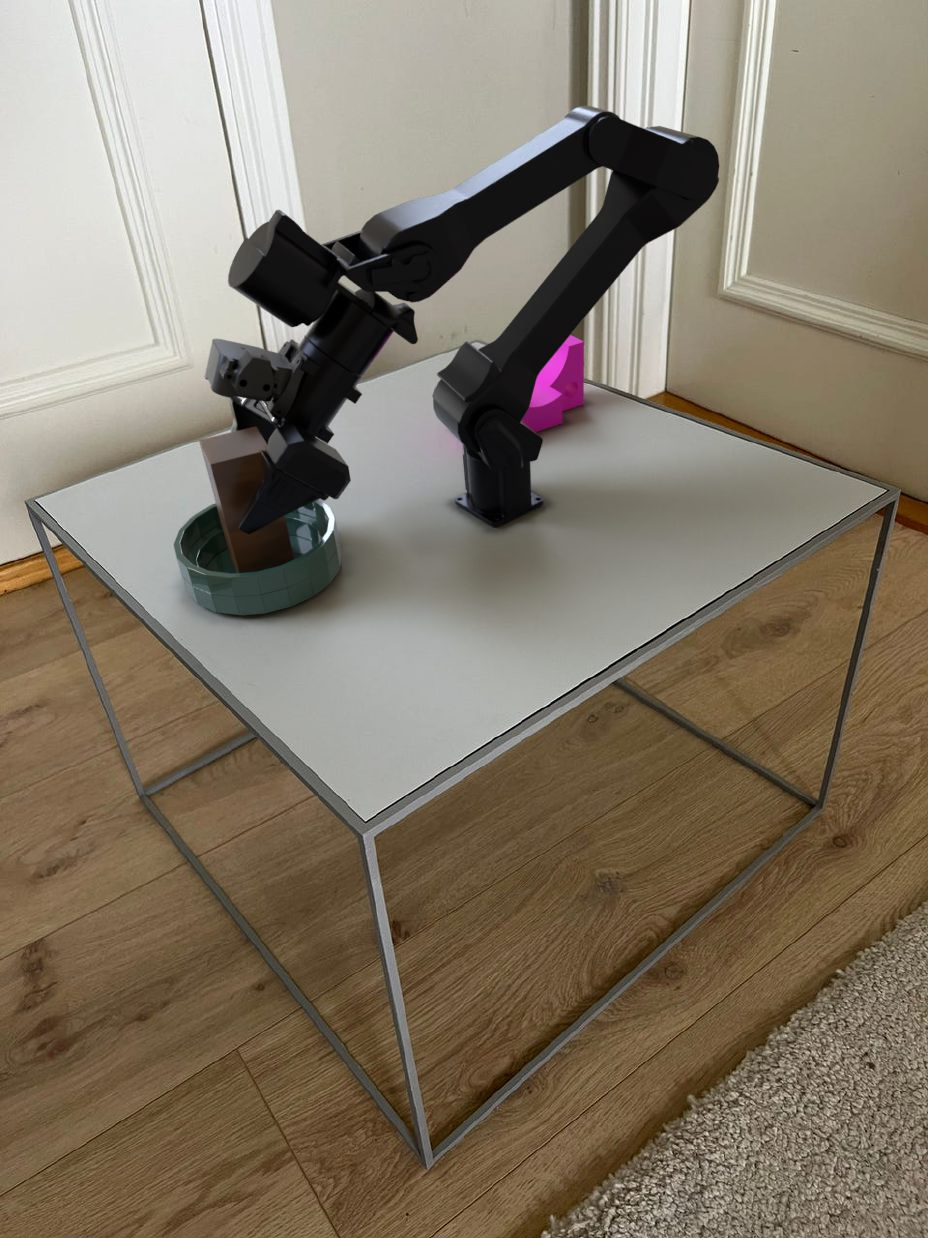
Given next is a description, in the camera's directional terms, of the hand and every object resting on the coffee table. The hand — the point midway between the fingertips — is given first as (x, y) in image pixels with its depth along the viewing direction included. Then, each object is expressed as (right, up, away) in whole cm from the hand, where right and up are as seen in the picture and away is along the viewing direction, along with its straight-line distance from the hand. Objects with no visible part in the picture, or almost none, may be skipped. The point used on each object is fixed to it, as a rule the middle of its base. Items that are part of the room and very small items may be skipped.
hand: (231, 506), depth 82 cm
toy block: (+27, +13, +26) cm, 40 cm away
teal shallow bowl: (+2, -5, +5) cm, 8 cm away
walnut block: (+2, -5, +5) cm, 7 cm away
